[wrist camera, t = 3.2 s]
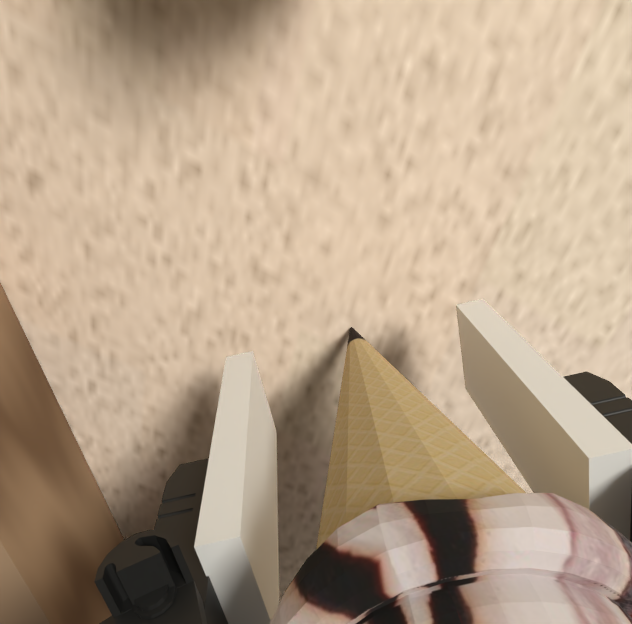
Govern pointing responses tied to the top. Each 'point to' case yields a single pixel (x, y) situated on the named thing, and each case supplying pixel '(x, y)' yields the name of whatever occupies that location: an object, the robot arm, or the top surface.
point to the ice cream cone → (443, 526)
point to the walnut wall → (45, 499)
